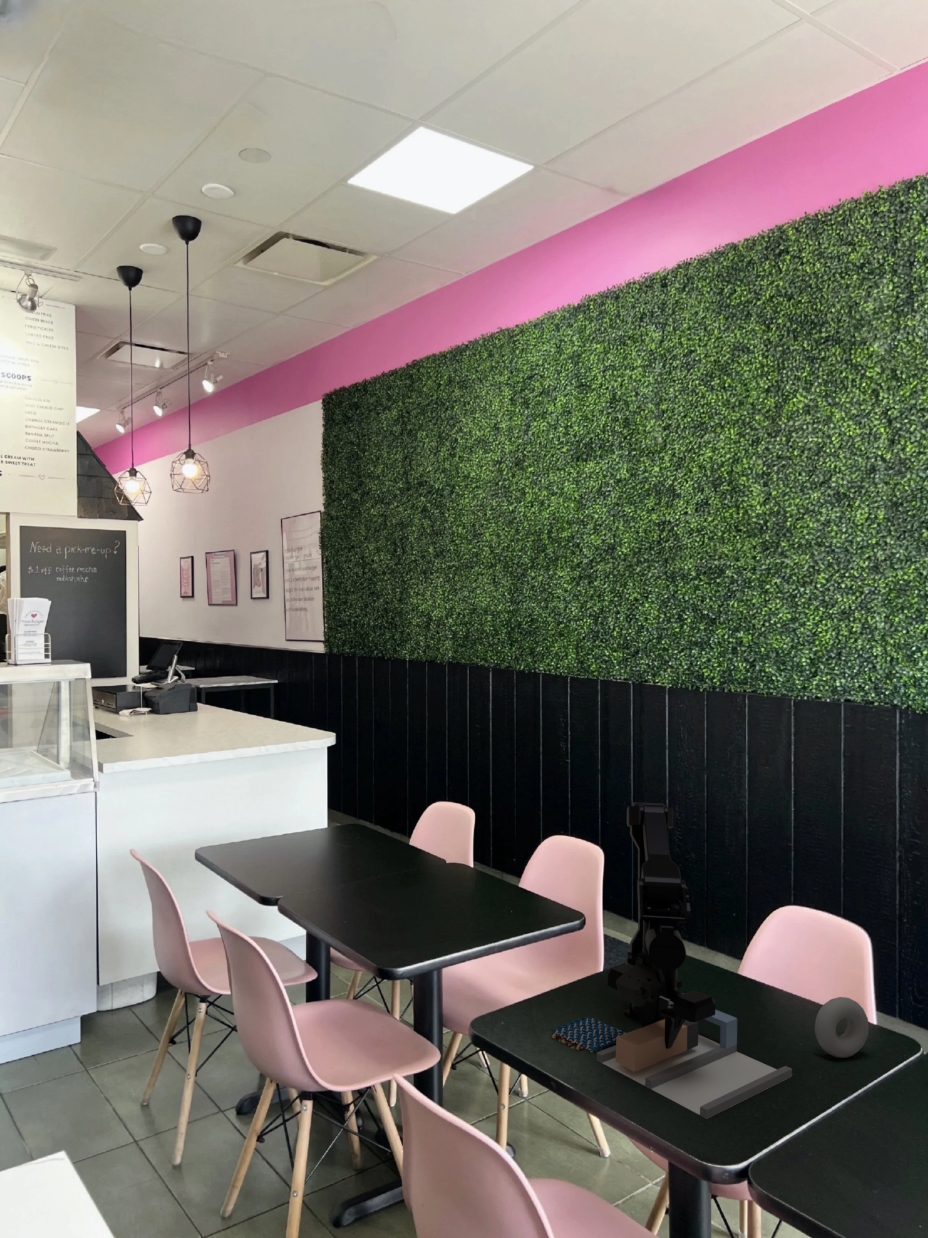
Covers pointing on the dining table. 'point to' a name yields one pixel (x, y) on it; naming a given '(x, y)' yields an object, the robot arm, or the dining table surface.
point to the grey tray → (705, 1072)
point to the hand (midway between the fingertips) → (658, 1043)
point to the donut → (854, 1032)
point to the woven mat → (587, 1034)
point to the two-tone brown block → (653, 1044)
